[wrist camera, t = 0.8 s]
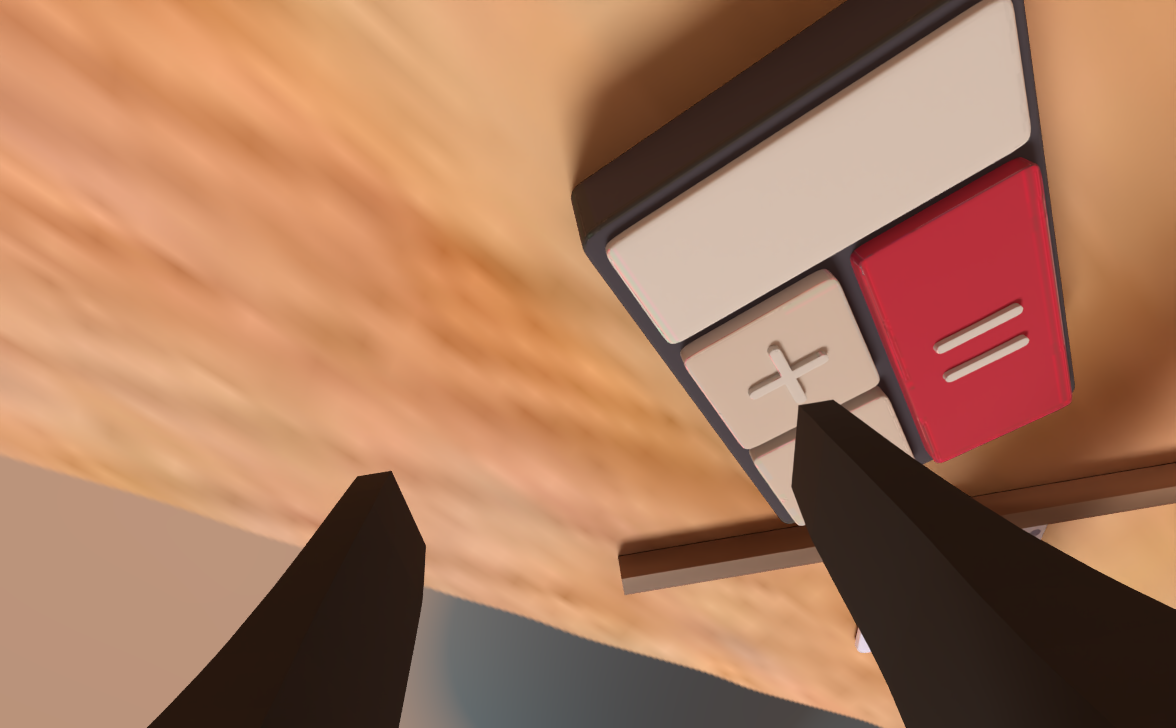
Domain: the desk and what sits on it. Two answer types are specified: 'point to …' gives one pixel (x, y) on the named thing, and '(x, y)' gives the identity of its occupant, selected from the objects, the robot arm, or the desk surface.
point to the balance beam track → (800, 550)
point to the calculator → (850, 237)
